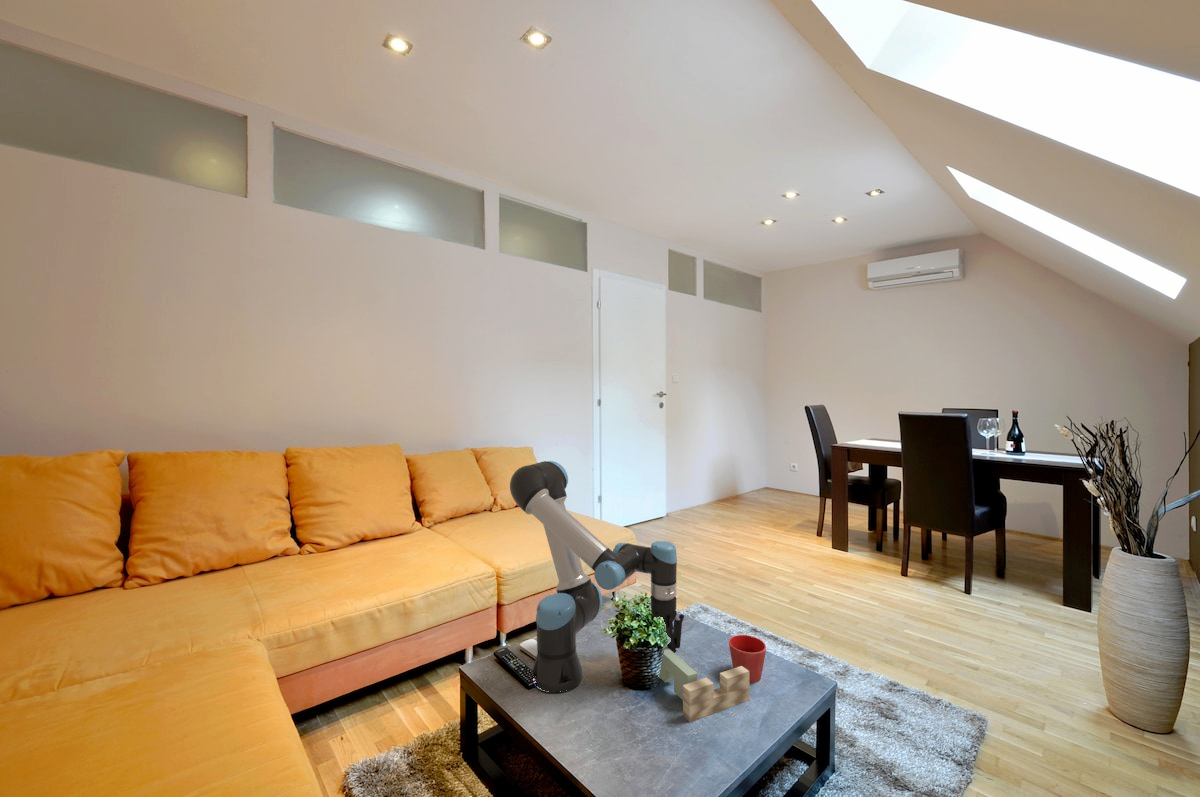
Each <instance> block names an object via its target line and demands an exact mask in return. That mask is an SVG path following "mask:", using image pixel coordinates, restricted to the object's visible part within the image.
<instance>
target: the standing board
mask: <svg viewBox="0 0 1200 797" xmlns="http://www.w3.org/2000/svg"><path fill="white" fill-rule="evenodd" d="M714 684H715V683H714V682H712V680H710V679H709V678H708V677H703V678H701V679H697V681H694V682H691V683H688V684H685V685H683V700H682V710H683V711H682V713H683V714H682V715H683V717H684V718H685V719H686V720H687V721H688V723H692V722H694V721H697V720H700V719H703V718H705V717H708V716H711V715H713V714H716V713H718V712H721V711H725V710H727V709H730V708H732V707H735V706H738V705H741V704H743V703H746V702H749V701H750V700H751V695H750V694H751V692H750V689H751V688H750V686H751V685H750V682H749V671H748V670H747V669H746V668H744V667H743V666H740V667H737V668H734V669H733V668H731V669H728V670H725V671H722V672H719V687H717V688H715V687H714V686H715V685H714Z"/></svg>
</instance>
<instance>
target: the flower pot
mask: <svg viewBox="0 0 1200 797" xmlns="http://www.w3.org/2000/svg"><path fill="white" fill-rule="evenodd" d="M728 645H729V654H730V658H731V663H732V664H731V665H732V669H734V668H737V667H740V666H743V667H744V668H746V669H747V670H748V671H749V682H750V683H757V682H759V681H760V680H761V679H762V674H763V669H764V664H765V658H766V653H767V652H766V650H767V645H766V643H765V642H764V641H763V640H761V639H760V638H758V637H755V636H752V635H749V634H748V635H747V634H738V635H737V634H736V635H734V636H732V637H730V638H729V640H728Z"/></svg>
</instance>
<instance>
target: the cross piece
mask: <svg viewBox="0 0 1200 797" xmlns="http://www.w3.org/2000/svg"><path fill="white" fill-rule="evenodd" d="M665 646H666V647H665V650H664V653H663V659H662V664H661V678H660V679H661V680H662V681H663V683H669V682H673V692H674V693H675V694H676V695H677V696H678V697H679V698H680V699H681V700H682V701H683V685H685V684H688V683H691V682H694V681H697V680H698V672H697V671H696V670H694V669H693V668H692V667H691V666H690V665H688V663H687V662H685V661H684V660H683V659H682V658H681V657H680V656H678V655H677V654H676V653H673V652H672V651H671V650H670V649H669V648H668V647H667V645H665Z"/></svg>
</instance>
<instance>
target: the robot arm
mask: <svg viewBox="0 0 1200 797" xmlns="http://www.w3.org/2000/svg"><path fill="white" fill-rule="evenodd" d="M568 484H569V476H568V472H567V471H566V469H565V468H564V467H563V465H561V463H559V462H557V461H553V460H547V461H546V460H545V461H544V460H543V461H541V462H536V463H533V464H529V465H524V466H521V467H519V468H518V469H517V470H515V471H514V473H513V474H512V476H511V478H510V482H509V491H510V494H511V497H512V499H513V501H514V502H515V503H516V505H517V506H518V507H519V508H520V509H521V510H522V511H523V512H524V513H525V514H526V515H533V517H534V518H536V519H537V520H538V521H539V522H540V523H541V524H542V525H543V529H544V531H545V535H546V536H545V537H546V540H547V544H548V547H549V551H550V554H551V557H552V560H553V565H554V569H555V572H556V576H557V579H558V584H557V585H556V586H555V589H556V593H553V594H549V595H547V596H545V597H543V598H542V599H541V600H540V601H539V603H538V604H537V606H536V615H535V622H536V647H537V648H536V650H537V651H536V653H537V654H536V657H535V661H534V664H533V667H532V670H531V676H532V675H533V676H534V678H535V679H536V682H537V686H538V687H539V688H541V689H542V690H545V691H549V692H560V691H561V692H562V691H566V690H569V691H571V690H573V689H575V688H576V687H578V686H579V685H580V684H581V683H582V680H583V667H582V664H581V661H580V657H579V656H578V653H577V636H576V635H577V633H578V632H580V631H581V630H582V629H583V628H585V627H586V626H587V625H589V623H591V622H592V621H594V619H595V618H596V617H597V616H598V614H599V613H600V612H601V611H602V608H603V594H602V591H601V590H600V588H601V589H604V590H606V591H611V590H615V589H616V588H617V587H620V586H621V585H622V584H624V582H626V580H627V579H629V578H631V577H632V576H633V575H634V574H635V573H636V572H637V573H642V574H650V610H651V612H652V613H653V616H654V617H659V616H660V617H663V619H664V622H665V624H666V633H667V635H668V636H669V637H670V638H671V642H670V643H669V644H668V645H667V644H666V646H667V647H668V648H669V649H670V650H671V651H672V652H673V653H675V654H676V653H677V651H678V650H677V649H680V647H681V638H682V628H683V622H684V618H685V616H684V614H682V612H680V611H677V572H678V571H677V565H678V564H677V562H678V558H677V557H678V556H677V547H676V545H675V544H674V543H673V542H671V541H665V540H658V541H653V542H652V543H651V544H650V545H651V546H649V547H648V546H644V545H637V544H632V543H629V542H619V543H617V544H615V546H614V548H613V550H612V549H610V548H609V547H608V546H607V545H606V544H604V542H602V541H601V540H600V539H599V538H598V537H597V536H596V535H595V534H594V533H592V532H591V531H590V530H589V529H588V528H586V526H585V525H583V524H582V523H581V522H580V521H579V520H578V519H576V517H575V516H573V515H572V514H571V513H570V512H569V511H567V508H566V505H565V504H566V503H565V501H566V499H567V497H568V496H567V492H566V488H567V486H568ZM581 560H582V561H583V563H585V564H586V565H587V566H588V567H589V568H590V569H591V570H592V571H593V572H594V574H593V575H594V580H595V581H596V583H597V584H596V583H595V582H593V581H592V580H591V576H589V575H587V574H586V573H585V572H584V568H583V565H582V561H581ZM666 633H665V634H666ZM535 676H536V677H535ZM658 679H661V670H660V674H659V678H658ZM579 683H580V684H579ZM578 684H579V685H578ZM577 685H578V686H577ZM574 687H575V688H574ZM572 688H573V689H572ZM570 689H571V690H570ZM566 692H567V691H566ZM562 693H563V692H562Z"/></svg>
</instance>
